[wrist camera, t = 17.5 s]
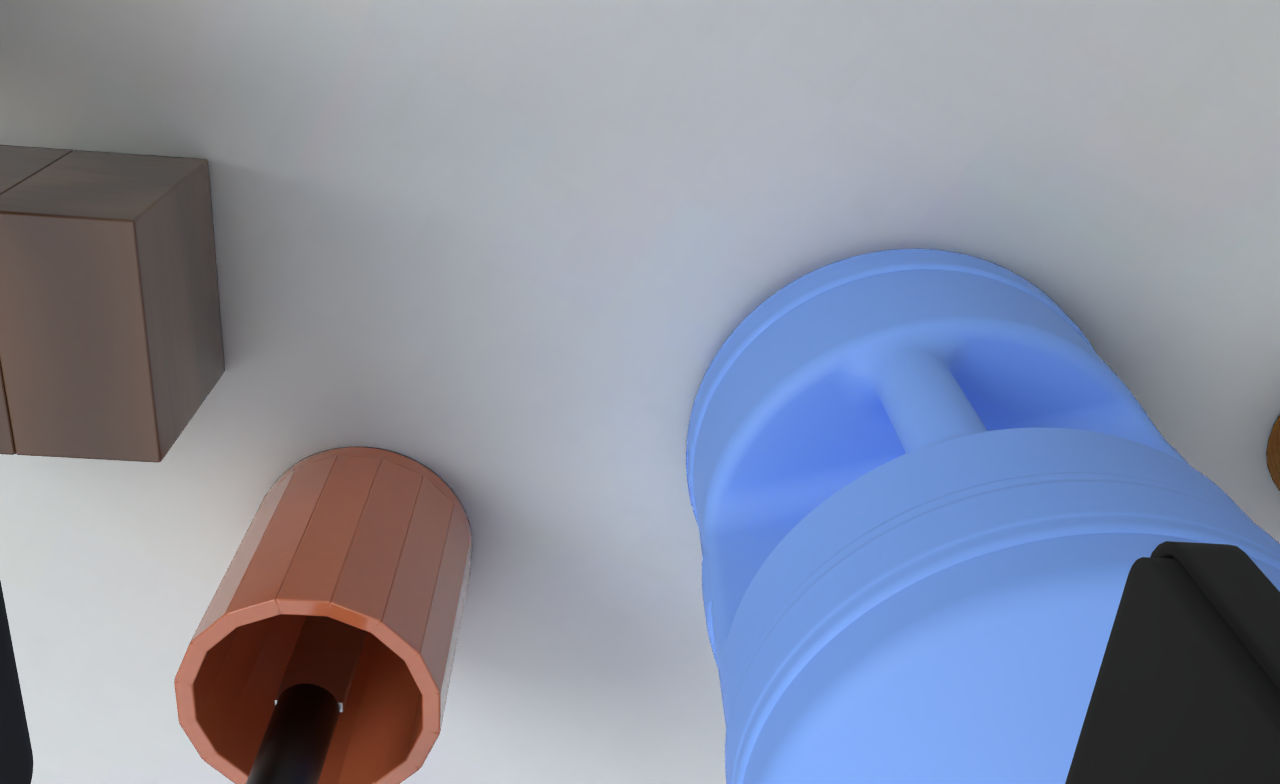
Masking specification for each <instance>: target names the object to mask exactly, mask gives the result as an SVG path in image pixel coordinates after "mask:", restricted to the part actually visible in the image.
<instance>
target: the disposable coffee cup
mask: <svg viewBox="0 0 1280 784" xmlns="http://www.w3.org/2000/svg"><path fill="white" fill-rule="evenodd" d="M1267 466H1268V469H1269V472H1270V474H1271V477H1272V480H1273V482H1274V483H1275V485H1276V486H1277V488H1278V489H1279V490H1280V416H1279V418H1278V419H1277V421H1276V423H1275V424H1274V426H1273V429H1272V432H1271V434H1270V437H1269V440H1268V447H1267Z"/></svg>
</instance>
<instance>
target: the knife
mask: <svg viewBox="0 0 1280 784" xmlns="http://www.w3.org/2000/svg"><path fill="white" fill-rule="evenodd" d="M366 634H367V631H364V630H362V629H359V628H356V627H354V626H351V625H348V624H346V623H343V622H341V621H338V620H335V619H333V618H330V617H327V616H306V619H305V622H304V624H303V627H302V629H301V632H300V635H299V637H298V640H297V643H296V645H295V648H294V650H293V653H292V656H291V658H290V661H289V663H288V666H287V669H286V671H285V674H284V676H283V679H282V682H281V684H280V687H279V690H278V692H277V695H276V697H275V700H274V704H275V708H274V711H273V713H272V716H271V719H270V721H269V724H268V727H267V729H266V732H265V734H264V737H263V740H262V742H261V745H260V748H259V750H258V753H257V756H256V758H255V761H254V763H253V766H252V769H251V771H250V774H249V777H248V779H247V782H246V784H318V782H319V779H320V776H321V772H322V769H323V766H324V762H325V759H326V756H327V753H328V749H329V746H330V743H331V739H332V736H333V733H334V730H335V726H336V723H337V720H338V716H339V712H343V711H344V708H345V704H346V701H347V698H348V694H349V691H350V688H351V684H352V681H353V678H354V674H355V671H356V668H357V664H358V661H359V658H360V654H361V651H362V648H363V644H364V641H365V638H366Z"/></svg>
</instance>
